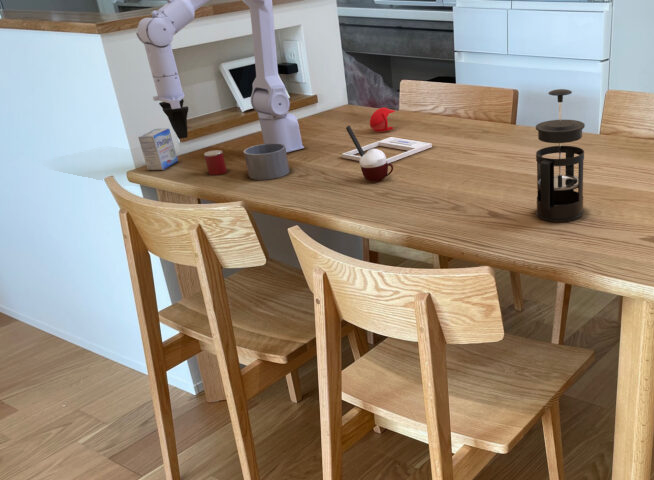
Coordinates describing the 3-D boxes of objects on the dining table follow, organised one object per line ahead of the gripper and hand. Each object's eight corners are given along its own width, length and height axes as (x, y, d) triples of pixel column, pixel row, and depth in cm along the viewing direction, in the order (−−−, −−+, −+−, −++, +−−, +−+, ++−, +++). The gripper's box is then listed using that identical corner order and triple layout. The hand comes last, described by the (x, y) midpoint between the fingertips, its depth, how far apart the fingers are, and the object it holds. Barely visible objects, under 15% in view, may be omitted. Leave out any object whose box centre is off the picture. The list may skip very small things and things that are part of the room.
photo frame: (431, 142, 194) (382, 160, 183) (431, 147, 195) (382, 165, 183) (391, 136, 202) (341, 153, 191) (391, 140, 203) (342, 157, 192)
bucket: (277, 165, 190) (272, 141, 187) (297, 172, 183) (292, 147, 180) (242, 174, 185) (236, 150, 182) (260, 182, 178) (255, 157, 175)
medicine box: (163, 170, 193) (153, 136, 188) (147, 170, 193) (137, 136, 189) (178, 161, 199) (169, 127, 194) (163, 161, 200) (154, 128, 195)
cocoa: (398, 178, 174) (392, 125, 168) (379, 186, 170) (372, 131, 164) (370, 172, 179) (363, 120, 173) (350, 179, 175) (342, 127, 169)
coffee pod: (222, 168, 190) (217, 149, 188) (229, 171, 188) (225, 152, 185) (205, 172, 188) (201, 153, 186) (213, 176, 185) (208, 156, 183)
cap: (382, 135, 209) (379, 112, 206) (366, 132, 212) (363, 110, 209) (401, 128, 214) (398, 106, 211) (385, 126, 217) (382, 104, 214)
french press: (550, 202, 153) (550, 82, 141) (593, 208, 149) (596, 85, 137) (523, 221, 145) (520, 96, 133) (567, 228, 141) (568, 99, 129)
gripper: (144, 72, 179) (160, 131, 186) (150, 82, 168) (167, 143, 175) (175, 68, 181) (190, 126, 189) (182, 77, 170) (198, 138, 177)
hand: (181, 134), depth 182 cm, fingers open, 7 cm apart
